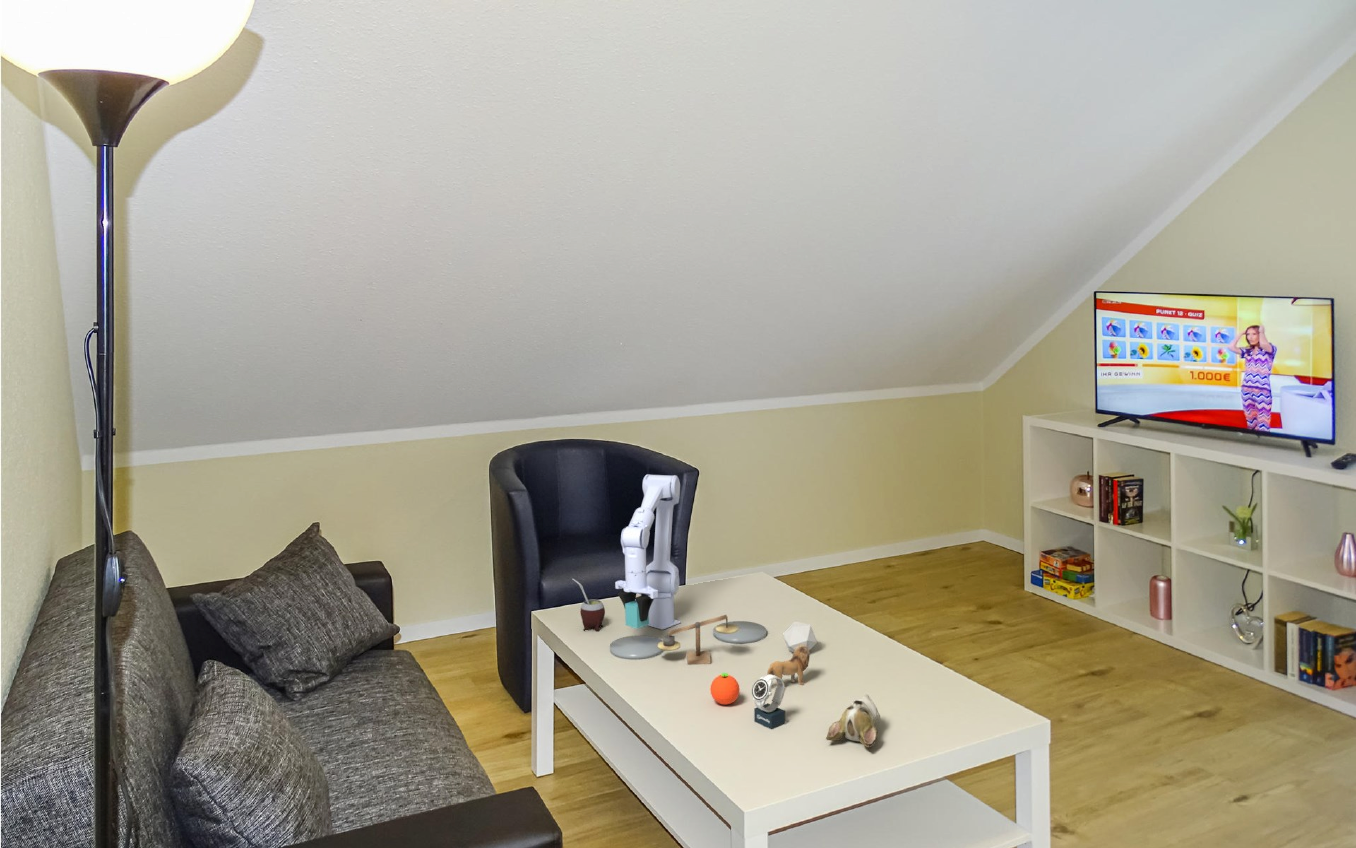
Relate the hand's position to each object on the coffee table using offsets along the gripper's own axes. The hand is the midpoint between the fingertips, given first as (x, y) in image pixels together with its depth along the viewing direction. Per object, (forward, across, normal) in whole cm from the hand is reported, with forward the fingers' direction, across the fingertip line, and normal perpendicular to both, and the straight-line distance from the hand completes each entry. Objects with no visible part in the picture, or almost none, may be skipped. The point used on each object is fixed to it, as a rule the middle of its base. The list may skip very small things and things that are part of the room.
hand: (637, 618), depth 277 cm
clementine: (+9, +41, -11) cm, 43 cm away
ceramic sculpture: (+9, +75, -7) cm, 76 cm away
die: (+9, +35, +27) cm, 45 cm away
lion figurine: (+9, +46, +7) cm, 47 cm away
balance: (+9, +18, +5) cm, 20 cm away
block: (+2, 0, 0) cm, 2 cm away
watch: (+9, +56, -13) cm, 58 cm away
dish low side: (+9, 0, 0) cm, 9 cm away
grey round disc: (+9, +14, +27) cm, 31 cm away
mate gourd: (+9, -22, +3) cm, 24 cm away
